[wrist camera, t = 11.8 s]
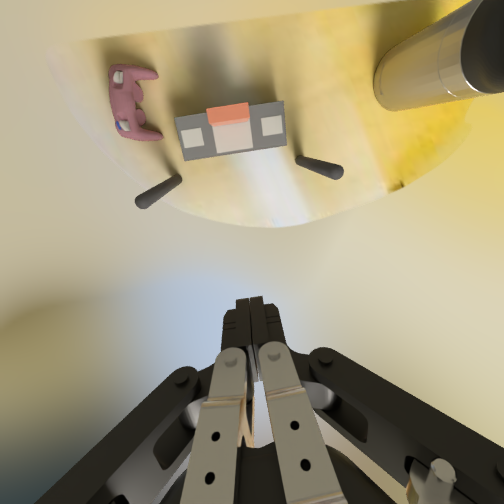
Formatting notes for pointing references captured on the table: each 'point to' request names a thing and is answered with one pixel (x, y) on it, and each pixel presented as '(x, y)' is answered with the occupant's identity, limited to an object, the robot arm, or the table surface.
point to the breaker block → (232, 133)
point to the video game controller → (130, 101)
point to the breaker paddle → (228, 114)
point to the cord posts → (166, 186)
